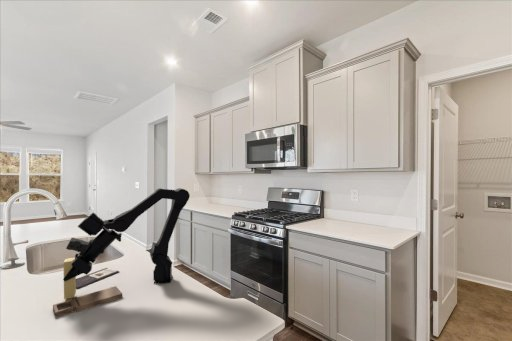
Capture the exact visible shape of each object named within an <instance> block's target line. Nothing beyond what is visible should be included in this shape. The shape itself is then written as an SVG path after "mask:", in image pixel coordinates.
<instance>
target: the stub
mask: <svg viewBox="0 0 512 341" xmlns="http://www.w3.org/2000/svg"><path fill="white" fill-rule="evenodd" d="M73 260H75V257H69V258H65V259H64V261H63V264H62V265H63V278H64V277H65V276H66V275H67V273H68V272H69V271H70V269H71V268H72V261H73ZM76 277H77V276H76ZM76 277H74V278H72V279H69V280H67V281H64V280H63V299H64V300H65V299H72V298H75V297H76V293H77V291H76V290H77V289H76V279H77V278H76Z"/></svg>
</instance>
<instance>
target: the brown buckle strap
mask: <svg viewBox="0 0 512 341" xmlns="http://www.w3.org/2000/svg"><path fill="white" fill-rule="evenodd" d="M122 298H123V293H122V291H121V290H120V289H119V288H118V287H117V286H116V285H115V286H112V287H107V288H104V289H101V290H100V289H99V290H97V291H93V292H90V293H87V294H83V295H79V296H75V297H72V298H71V299H69V300H65V301H62V302H58V303H54V304H53V305H52V310H53V314H54V318H58V317H61V316H64V315H67V314H71V313H73V312H76V313H77V312H81V311H83V310H87V309H90V308H93V307H96V306H100V305H103V304H106V303H110V302H112V301H115V300H118V299H122ZM69 306H70V307H69ZM65 307H66V308H65ZM61 308H63V309H61Z"/></svg>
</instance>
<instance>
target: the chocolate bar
mask: <svg viewBox="0 0 512 341" xmlns="http://www.w3.org/2000/svg"><path fill="white" fill-rule="evenodd" d="M116 274H120V271H119V270H116V269H112V268H108V267H104V268H101V269H100V270H96V271H93V272H92V273H88V274H87V275H86V274H84V275H83V276H81V277H78V278H76V290H79V289H82V288H84V287H88V286H89V285H91V284H93V283H96V282H100V281H101V280H104V279H105V278H109V277H111V276H114V275H116Z"/></svg>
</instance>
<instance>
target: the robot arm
mask: <svg viewBox="0 0 512 341" xmlns="http://www.w3.org/2000/svg"><path fill="white" fill-rule="evenodd" d="M163 199H166V200H171V204H170V205H171V206H170V210H169V212H168V215H167V217H166V219H165V224H164V225H163V229H162V231H161V234H160V236H159V238H158V240H157V241H156V242H154V241H153V242H152V245H151V248H150V249H149V250H148V252H149V257H150V260H151V261H152V263H153V264H154V265H155V266H154V270H152V271H153V276H152V277H153V281H154V282H153V284H166V283H167V284H168V283H171V281H172V279H173V272H172V270H173V267H172V265H173V262H172V259H171V258H170V256H169V255H168V253H169V245H170V241H171V238H172V234H173V232H174V230H175V227H176V225H177V223H178V222H177V221H178V219H179V217H180V215H181V211H182V210H183V209H184V207H185V206H186V205H187V203H188V202H189V199H190V193H189V191H188V190H187V189H184V188H181V187H180V188H176V189H168V188H161V187H160V188H157V189H156V190H155V191H154V192H152V193H151V194H150V195H149V196H147V197H146V198H145V199H143V200H142V201H141V202H139V203H138V204H137V205H135V206H133V207H132V208H129V209H128V210H125V211H124V212H122V213H120V214H118V215H116V216H115V217H114V218H111V219H106V220H105V219H104V220H103V219H102V218H101V217H99V216H98V215H97V214H96V213H95V212H92V213H91V214H89V216H87V217H85V218H84V219H83V220H82V221H81V222H80V223H79V224H78V225H77V228H79V229H80V230H82V231H83V232H85V234H87V235H88V236H90V237H91V236H95V237H94V238H93V239H90V240H89V241H87V240H83V239H80V238H76V237H71V239H70V240H69V241H68V244H67V246H66V248H65V249H66V250H68V251H74V252H75V255H74V258H75V260H73V261H72V268H71V269H70V271H69V272H68V273H67V275H66V276H65V277H64V276H63V279H62V281H63V282H64V281H67V280H69V279H72V278H74V277H78V276H80V275H83V274H84V275H88V274H90V272H91V271H92V269H93V264H94V263H95V262H96V260H97V258H98V257H99V256H101V255H102V254H104V253H105V251H106V250H107V248H108V247H109V246H110V245H111V244H112V243H113V242H114V241H115V240H116V241H118V242H119V243H120V242H122V233H124V232H125V231H127V230H128V229H129V227H131V225H132V224H133V223H134V222H135V221H136V219H137V218H138V217H141V215H143V214H144V213H145V212H146V211H148V210H149V209H150V208H151V207H153V206H154V205H156V204H157V203H158V202H159V201H160V200H163ZM96 235H97V236H96ZM76 252H77V253H76Z"/></svg>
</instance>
